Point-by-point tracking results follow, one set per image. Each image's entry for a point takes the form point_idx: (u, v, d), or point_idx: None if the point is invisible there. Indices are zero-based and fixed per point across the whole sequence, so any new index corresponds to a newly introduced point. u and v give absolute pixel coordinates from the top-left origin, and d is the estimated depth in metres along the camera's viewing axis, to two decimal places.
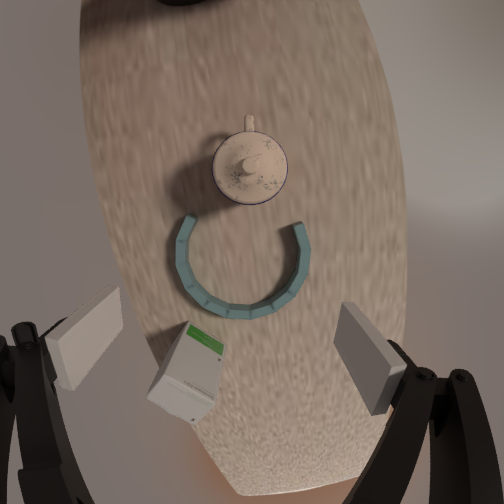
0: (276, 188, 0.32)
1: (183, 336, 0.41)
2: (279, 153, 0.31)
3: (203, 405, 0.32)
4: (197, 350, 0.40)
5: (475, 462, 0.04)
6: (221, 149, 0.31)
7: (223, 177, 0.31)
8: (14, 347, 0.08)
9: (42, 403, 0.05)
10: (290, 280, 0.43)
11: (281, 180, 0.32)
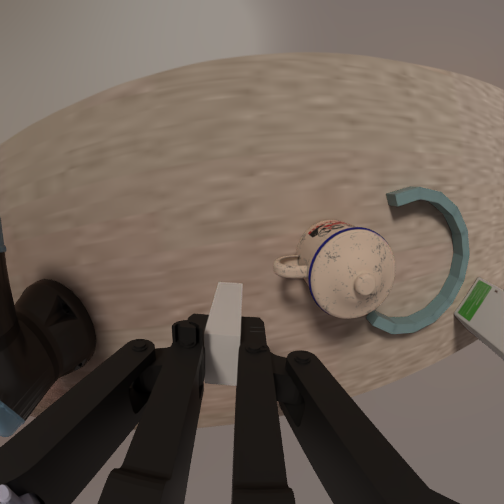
0: (384, 244, 0.24)
1: (472, 325, 0.31)
2: (344, 241, 0.23)
3: None
4: (487, 314, 0.29)
5: (360, 451, 0.05)
6: (332, 311, 0.25)
7: (365, 308, 0.25)
8: (159, 349, 0.10)
9: (179, 410, 0.07)
10: (441, 209, 0.31)
11: (376, 238, 0.24)
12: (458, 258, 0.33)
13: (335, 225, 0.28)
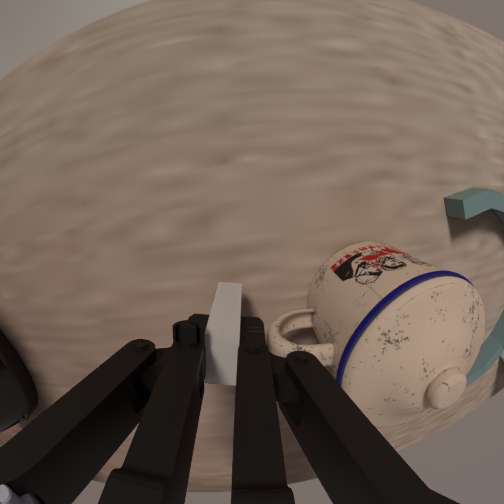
0: (478, 302, 0.10)
1: None
2: (419, 306, 0.09)
3: None
4: None
5: (359, 451, 0.05)
6: (374, 423, 0.11)
7: (428, 408, 0.11)
8: (159, 349, 0.10)
9: (180, 410, 0.07)
10: None
11: (469, 292, 0.10)
12: None
13: (386, 258, 0.14)
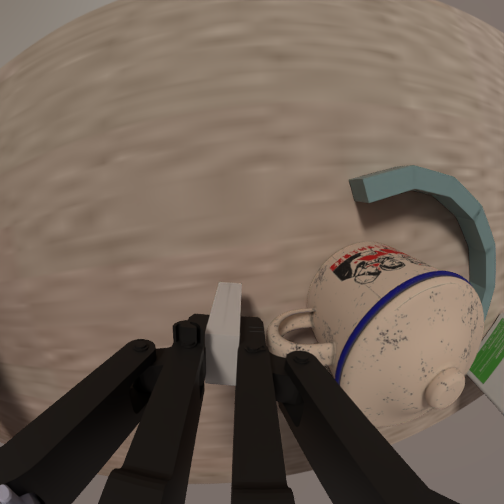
0: (477, 302, 0.10)
1: (487, 391, 0.17)
2: (418, 306, 0.10)
3: None
4: None
5: (359, 451, 0.05)
6: (372, 423, 0.11)
7: (427, 408, 0.11)
8: (159, 349, 0.10)
9: (180, 410, 0.07)
10: (453, 209, 0.17)
11: (468, 292, 0.10)
12: (477, 291, 0.18)
13: (384, 258, 0.14)
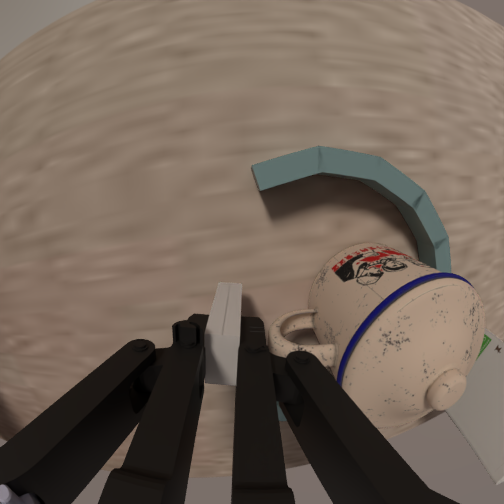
0: (479, 304, 0.10)
1: None
2: (420, 307, 0.09)
3: None
4: (476, 391, 0.14)
5: (359, 451, 0.05)
6: (373, 424, 0.11)
7: (428, 410, 0.11)
8: (159, 349, 0.10)
9: (180, 410, 0.07)
10: (388, 196, 0.17)
11: (470, 294, 0.10)
12: None
13: (387, 260, 0.14)
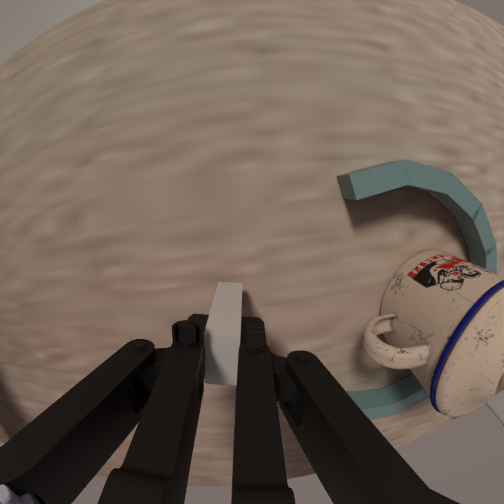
0: None
1: None
2: (501, 308, 0.09)
3: None
4: None
5: (360, 451, 0.05)
6: (453, 413, 0.10)
7: None
8: (159, 349, 0.10)
9: (179, 410, 0.07)
10: (451, 207, 0.16)
11: None
12: None
13: (461, 267, 0.13)
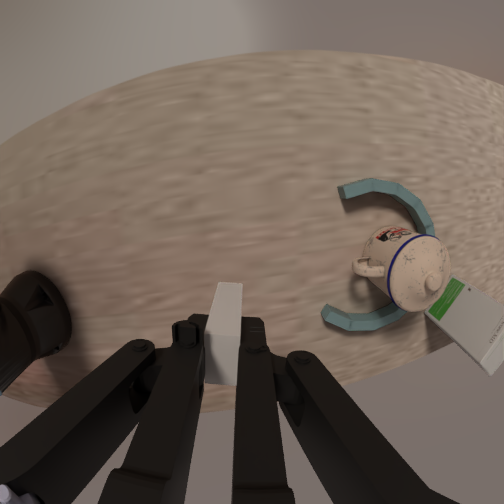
0: (444, 249, 0.25)
1: (442, 325, 0.32)
2: (417, 246, 0.25)
3: None
4: (458, 313, 0.30)
5: (360, 451, 0.05)
6: (404, 305, 0.27)
7: (428, 302, 0.26)
8: (159, 349, 0.10)
9: (179, 411, 0.07)
10: (401, 202, 0.32)
11: (439, 243, 0.25)
12: None
13: (402, 231, 0.30)
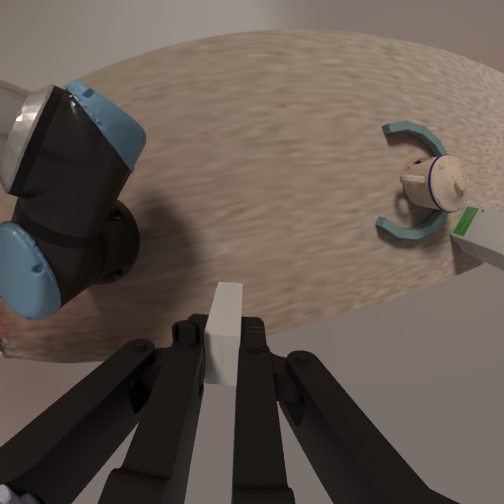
0: (462, 166, 0.32)
1: (466, 238, 0.39)
2: (445, 160, 0.32)
3: None
4: (478, 227, 0.37)
5: (360, 451, 0.05)
6: (442, 204, 0.33)
7: (458, 204, 0.33)
8: (159, 349, 0.10)
9: (179, 410, 0.07)
10: (426, 141, 0.39)
11: (459, 161, 0.32)
12: None
13: (431, 157, 0.36)
